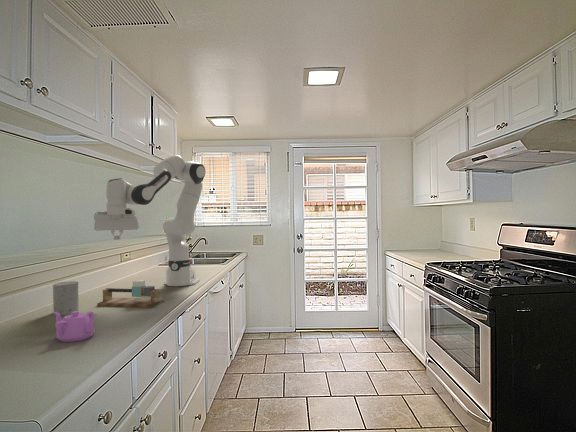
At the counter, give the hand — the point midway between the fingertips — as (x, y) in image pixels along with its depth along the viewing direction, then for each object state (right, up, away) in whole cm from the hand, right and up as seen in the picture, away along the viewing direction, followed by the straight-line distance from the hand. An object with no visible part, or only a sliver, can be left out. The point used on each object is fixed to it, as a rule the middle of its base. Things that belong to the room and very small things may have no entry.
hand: (117, 239), depth 195 cm
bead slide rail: (+11, -25, -12) cm, 30 cm away
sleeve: (+15, -25, -12) cm, 32 cm away
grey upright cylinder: (-11, -30, -26) cm, 41 cm away
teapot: (+12, -30, -61) cm, 68 cm away
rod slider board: (+11, -29, -12) cm, 33 cm away
